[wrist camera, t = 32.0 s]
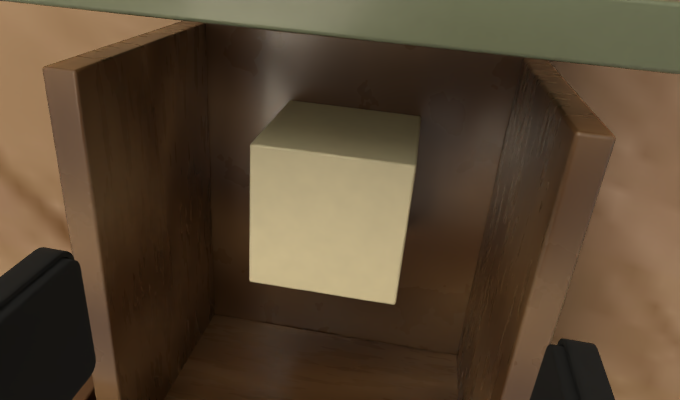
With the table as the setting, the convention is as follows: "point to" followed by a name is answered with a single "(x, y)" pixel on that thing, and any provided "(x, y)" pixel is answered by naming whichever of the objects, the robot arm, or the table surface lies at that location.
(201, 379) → the drawer
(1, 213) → the table surface
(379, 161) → the block
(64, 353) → the robot arm
